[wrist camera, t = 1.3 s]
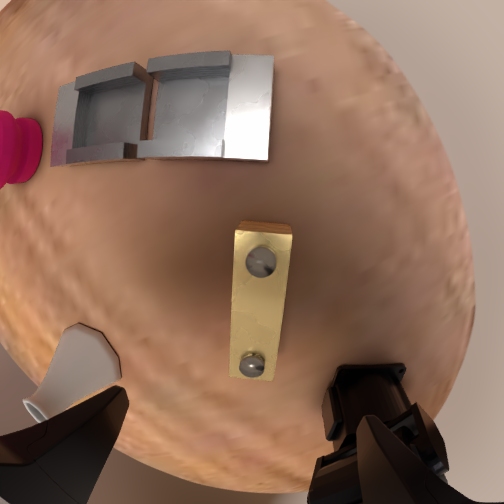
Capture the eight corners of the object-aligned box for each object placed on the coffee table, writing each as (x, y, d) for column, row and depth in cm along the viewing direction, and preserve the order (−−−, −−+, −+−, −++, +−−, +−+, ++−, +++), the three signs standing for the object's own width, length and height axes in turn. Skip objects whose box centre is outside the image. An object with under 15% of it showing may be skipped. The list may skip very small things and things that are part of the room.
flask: (57, 320, 22) (-5, 370, 12) (106, 323, 21) (38, 390, 11) (82, 375, 24) (36, 431, 14) (132, 384, 23) (87, 456, 13)
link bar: (243, 219, 18) (233, 232, 14) (289, 223, 18) (293, 237, 14) (235, 348, 20) (227, 382, 16) (274, 351, 20) (272, 387, 16)
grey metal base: (274, 70, 15) (273, 51, 12) (268, 162, 16) (266, 159, 13) (77, 92, 16) (54, 85, 13) (70, 166, 17) (45, 167, 15)
